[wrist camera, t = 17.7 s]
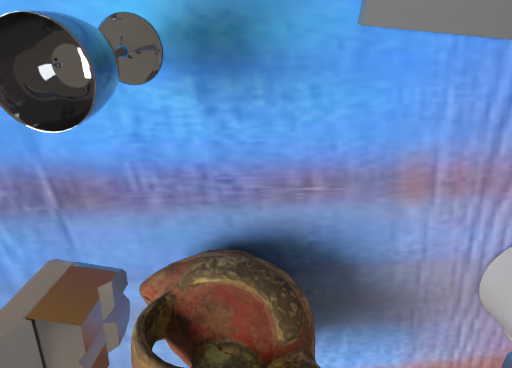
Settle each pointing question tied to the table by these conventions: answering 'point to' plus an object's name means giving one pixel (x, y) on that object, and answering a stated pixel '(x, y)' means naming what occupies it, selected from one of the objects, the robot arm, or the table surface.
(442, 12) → the holder block
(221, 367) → the ceramic vessel
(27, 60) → the wine glass
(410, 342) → the table surface
